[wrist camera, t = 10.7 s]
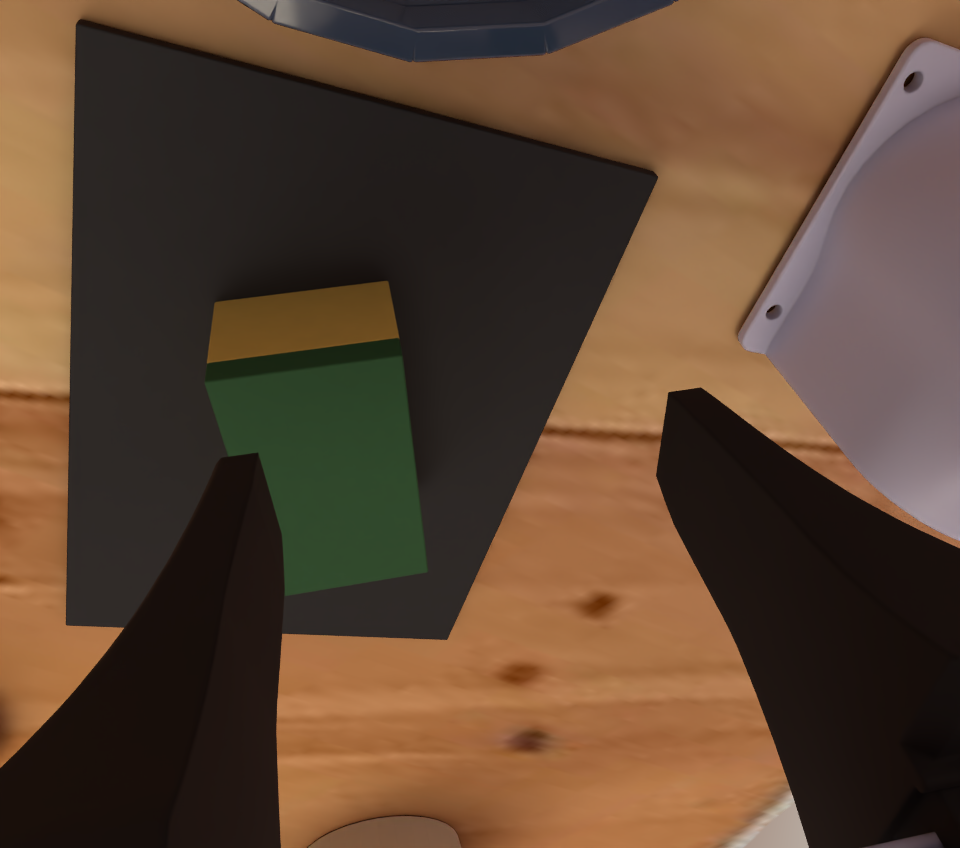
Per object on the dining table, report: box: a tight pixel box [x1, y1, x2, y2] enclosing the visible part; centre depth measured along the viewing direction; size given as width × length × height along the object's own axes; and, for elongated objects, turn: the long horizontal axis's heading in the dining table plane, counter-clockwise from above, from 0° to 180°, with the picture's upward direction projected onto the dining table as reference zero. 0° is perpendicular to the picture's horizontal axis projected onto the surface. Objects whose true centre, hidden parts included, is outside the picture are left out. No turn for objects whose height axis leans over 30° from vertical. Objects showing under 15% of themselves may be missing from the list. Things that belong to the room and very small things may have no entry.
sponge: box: [204, 281, 428, 596], centre depth 23 cm, size 8×5×4 cm, turn 2°
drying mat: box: [66, 20, 658, 640], centre depth 25 cm, size 20×14×1 cm
